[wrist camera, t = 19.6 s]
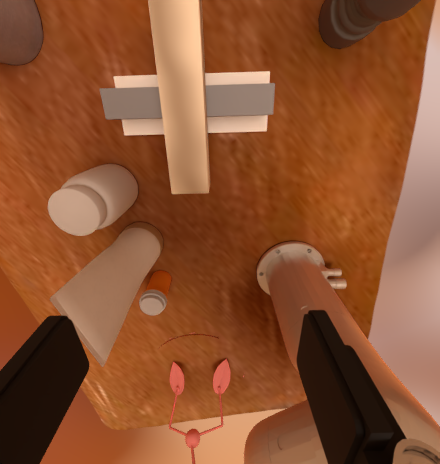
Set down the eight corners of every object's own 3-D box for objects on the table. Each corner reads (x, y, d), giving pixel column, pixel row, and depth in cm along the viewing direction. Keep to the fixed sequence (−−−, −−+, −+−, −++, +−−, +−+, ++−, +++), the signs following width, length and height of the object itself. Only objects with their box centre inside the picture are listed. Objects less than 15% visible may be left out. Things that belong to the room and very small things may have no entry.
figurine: (253, 376, 58) (294, 678, 26) (150, 377, 58) (66, 678, 26) (256, 330, 52) (314, 656, 20) (140, 332, 52) (14, 656, 20)
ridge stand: (267, 73, 31) (281, 60, 24) (264, 130, 34) (276, 133, 27) (118, 78, 31) (89, 66, 24) (128, 134, 34) (105, 138, 27)
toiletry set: (83, 170, 37) (-57, 221, 18) (127, 156, 36) (27, 194, 17) (148, 291, 47) (102, 403, 28) (183, 283, 46) (159, 392, 27)
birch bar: (201, -8, 22) (196, -42, 17) (210, 182, 30) (208, 193, 25) (158, -7, 22) (143, -39, 17) (179, 183, 30) (171, 194, 25)
